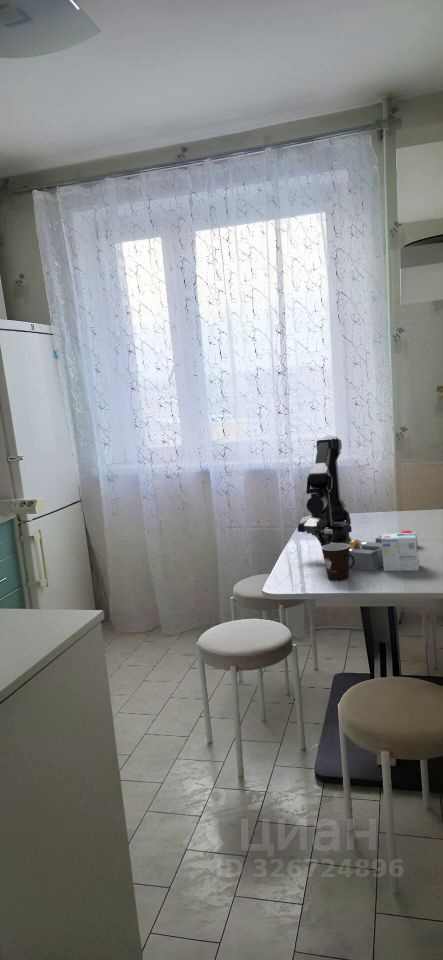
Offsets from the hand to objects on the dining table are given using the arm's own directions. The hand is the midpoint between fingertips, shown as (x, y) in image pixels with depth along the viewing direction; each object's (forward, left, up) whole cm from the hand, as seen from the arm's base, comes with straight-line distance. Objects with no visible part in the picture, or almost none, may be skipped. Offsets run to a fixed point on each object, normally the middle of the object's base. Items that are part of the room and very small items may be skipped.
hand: (326, 552), depth 219 cm
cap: (+18, +24, -3) cm, 30 cm away
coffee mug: (+16, -17, -3) cm, 24 cm away
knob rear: (+10, +9, -1) cm, 13 cm away
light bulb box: (+28, 0, -3) cm, 28 cm away
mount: (+17, +4, -3) cm, 18 cm away
